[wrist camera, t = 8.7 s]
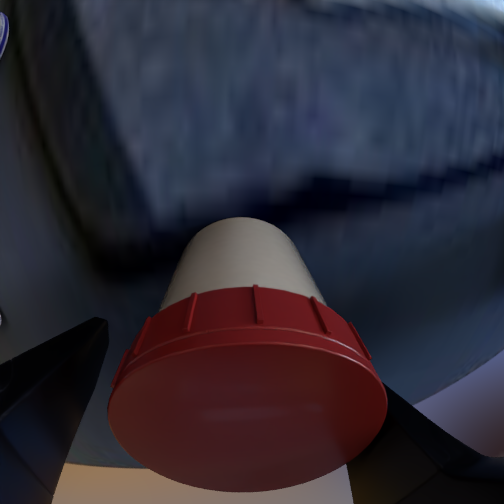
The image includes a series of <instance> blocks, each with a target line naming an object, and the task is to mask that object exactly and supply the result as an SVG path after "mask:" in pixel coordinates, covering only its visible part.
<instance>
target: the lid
mask: <svg viewBox="0 0 504 504" xmlns="http://www.w3.org/2000/svg"><path fill="white" fill-rule="evenodd" d="M371 359H372V357H371V356H370V354H369V352H368V350H367V348H366V347H365V345H364V343H363V341H362V340H361V338H360V336H359V334H358V333H357V331H356V329H355V328H354V326H353V324H352V323H351V322H349V323H347V322H346V321H345V320H344V319H343V318H342V317H341V316H339V315H338V314H337V313H336V312H335V311H333V310H332V309H330V308H329V307H327V306H325V305H323V304H322V303H320V302H318V301H317V299H316V297H314V296H311V297H310V298H308V297H307V296H304V295H301V294H297V293H293V292H289V291H286V290H280V289H273V288H267V287H258V285H257V284H253V287H232V288H222V289H216V290H211V291H206V292H203V293H200V294H197V293H196V292H194V293H191V296H190V297H187V298H185V299H183V300H180V301H178V302H176V303H174V304H172V305H170V306H168V307H167V308H165V309H163V310H162V311H160V312H159V313H157V314H156V315H155V316H154V317H152V318H151V317H148V318H146V321H145V323H144V325H143V327H142V329H141V330H140V331H139V332H138V334H137V335H136V337H135V339H134V341H133V343H132V345H131V347H130V349H129V350H128V349H126V351H125V353H124V355H123V358H122V360H121V362H120V365H119V367H118V369H117V372H116V374H115V376H114V379H113V381H112V384H111V387H112V388H113V390H112V393H111V395H110V398H109V403H108V407H107V411H108V421H109V425H110V428H111V430H112V432H113V434H114V436H115V438H116V440H117V441H118V442H119V444H120V445H121V446H122V447H123V448H124V450H125V451H126V452H127V453H128V454H129V455H131V456H132V457H133V458H134V459H135V460H137V461H138V462H139V463H141V464H142V465H144V466H145V467H147V468H148V469H150V470H152V471H154V472H156V473H158V474H160V475H162V476H164V477H166V478H169V479H171V480H174V481H177V482H179V483H182V484H186V485H190V486H193V487H198V488H203V489H209V490H215V491H223V492H260V491H269V490H277V489H282V488H286V487H291V486H295V485H298V484H302V483H305V482H308V481H311V480H314V479H316V478H319V477H322V476H324V475H326V474H328V473H330V472H332V471H334V470H336V469H338V468H339V467H341V466H343V465H345V464H346V463H348V462H349V461H351V460H352V459H353V458H355V457H356V456H357V455H359V454H360V453H361V452H362V451H363V450H364V449H365V448H366V447H367V446H368V445H369V444H370V443H371V442H372V441H373V439H374V438H375V437H376V435H377V434H378V432H379V431H380V429H381V427H382V425H383V423H384V420H385V417H386V413H387V395H386V391H385V388H384V386H383V384H382V382H381V380H380V379H379V377H378V375H377V373H376V371H375V369H374V367H373V366H372V364H371V362H370V360H371Z"/></svg>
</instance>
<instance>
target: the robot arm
mask: <svg viewBox="0 0 504 504" xmlns="http://www.w3.org/2000/svg"><path fill="white" fill-rule="evenodd" d="M108 346H109V331H108V322H107V320H105V319H102V318H98V317H94V318H92V319H90V320H88V321H86V322H84V323H81V324H79V325H78V326H76V327H74V328H72V329H70V330H68V331H66V332H64V333H62V334H60V335H58V336H56V337H54V338H52V339H50V340H48V341H46V342H44V343H42V344H40V345H38V346H36V347H34V348H32V349H30V350H28V351H26V352H24V353H22V354H20V355H18V356H16V357H14V358H12V360H8V361H6V362H4V363H2V364H0V504H51V503H52V499H53V495H54V493H55V490H56V487H57V484H58V480H59V477H60V474H61V472H62V469H63V466H64V463H65V460H66V458H67V455H68V452H69V450H70V447H71V444H72V442H73V439H74V437H75V434H76V432H77V429H78V427H79V424H80V422H81V419H82V417H83V415H84V412H85V410H86V407H87V405H88V403H89V401H90V398H91V396H92V394H93V391H94V389H95V386H96V383H97V380H98V377H99V374H100V371H101V367H102V364H103V361H104V358H105V355H106V352H107V349H108ZM382 384H383V386H384V388H385V391H386V395H387V413H386V417H385V420H384V423H383V425H382V427H381V429H380V431H379V432H378V434H377V435H376V437H375V438H374V439H373V441H372V442H371V443H370V444H369V445H368V446H367V447H366V448H365V449H364V450H363V451H362V452H361V453H360V454H359V455H357V456H356V457H355V458H353V459H352V460H351V461H349V462H348V463H346V465H347V470H348V475H349V480H350V486H351V491H352V497H353V503H354V504H504V457H488V456H484V455H482V454H480V453H478V452H476V451H475V450H473V449H472V448H470V447H468V446H467V445H465V444H463V443H462V442H460V441H459V440H457V439H456V438H454V437H453V436H451V435H450V434H448V433H447V432H445V431H444V430H443V429H441V428H440V427H439V426H437V425H436V424H435V423H433V422H432V421H431V420H429V419H428V418H427V417H426V416H424V415H423V414H422V413H420V412H419V411H418V410H417V409H415V408H414V407H413V406H412V405H410V404H409V403H408V402H407V401H405V400H404V399H403V398H402V397H400V396H399V395H398V394H396V393H395V392H394V391H393V390H391V389H390V388H389V387H388V386H386V385H385V384H384V383H383V382H382Z"/></svg>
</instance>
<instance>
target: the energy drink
mask: <svg viewBox="0 0 504 504" xmlns="http://www.w3.org/2000/svg"><path fill="white" fill-rule="evenodd" d="M8 35H9V23H8V19H7V16H6V15H5V14H4V13H2V12H0V59H1V57H2V54H3V52H4V49H5V46H6V43H7V39H8Z"/></svg>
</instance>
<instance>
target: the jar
mask: <svg viewBox="0 0 504 504" xmlns="http://www.w3.org/2000/svg"><path fill="white" fill-rule="evenodd" d="M253 284H257V285H258V287H267V288H273V289H280V290H286V291H289V292H293V293H297V294H301V295H304V296H307V297H308V298H310V297H311V296H314V297H316V299H317V301H318V302H320V303H322V304H323V305H325V306H327V304H326V302H325V300H324V298H323V296H322V294H321V293H320V291H319V289H318V287H317V285H316V283H315V281H314V279H313V278H312V276H311V274H310V272H309V270H308V268H307V266H306V265H305V263H304V261H303V259H302V257H301V255H300V254H299V252H298V250H297V248H296V247H295V245H294V244H293V242H292V241H291V240H290V238H289V237H288V236H287V235H286V234H285V233H283V232H282V231H281V230H280V229H278V228H277V227H275V226H273V225H271V224H269V223H267V222H265V221H261V220H258V219H253V218H244V217H237V218H229V219H224V220H220V221H218V222H215V223H213V224H211V225H209V226H207V227H205V228H204V229H202V230H201V231H199V232H198V233H197V234H196V235H195V236H194V237H193V238H192V239H191V240H190V242H189V243H188V244H187V246H186V248H185V249H184V251H183V253H182V256H181V258H180V260H179V262H178V265H177V267H176V269H175V271H174V274H173V276H172V278H171V281H170V283H169V285H168V288H167V290H166V292H165V295H164V297H163V300H162V302H161V304H160V307H159V309H158V312H157V313H159V312H160V311H162V310H163V309H165V308H167V307H168V306H170V305H172V304H174V303H176V302H178V301H180V300H183V299H185V298H187V297H190V296H191V293H194V292H196V293H197V294H200V293H203V292H206V291H211V290H216V289H222V288H232V287H253ZM327 307H328V306H327Z"/></svg>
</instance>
